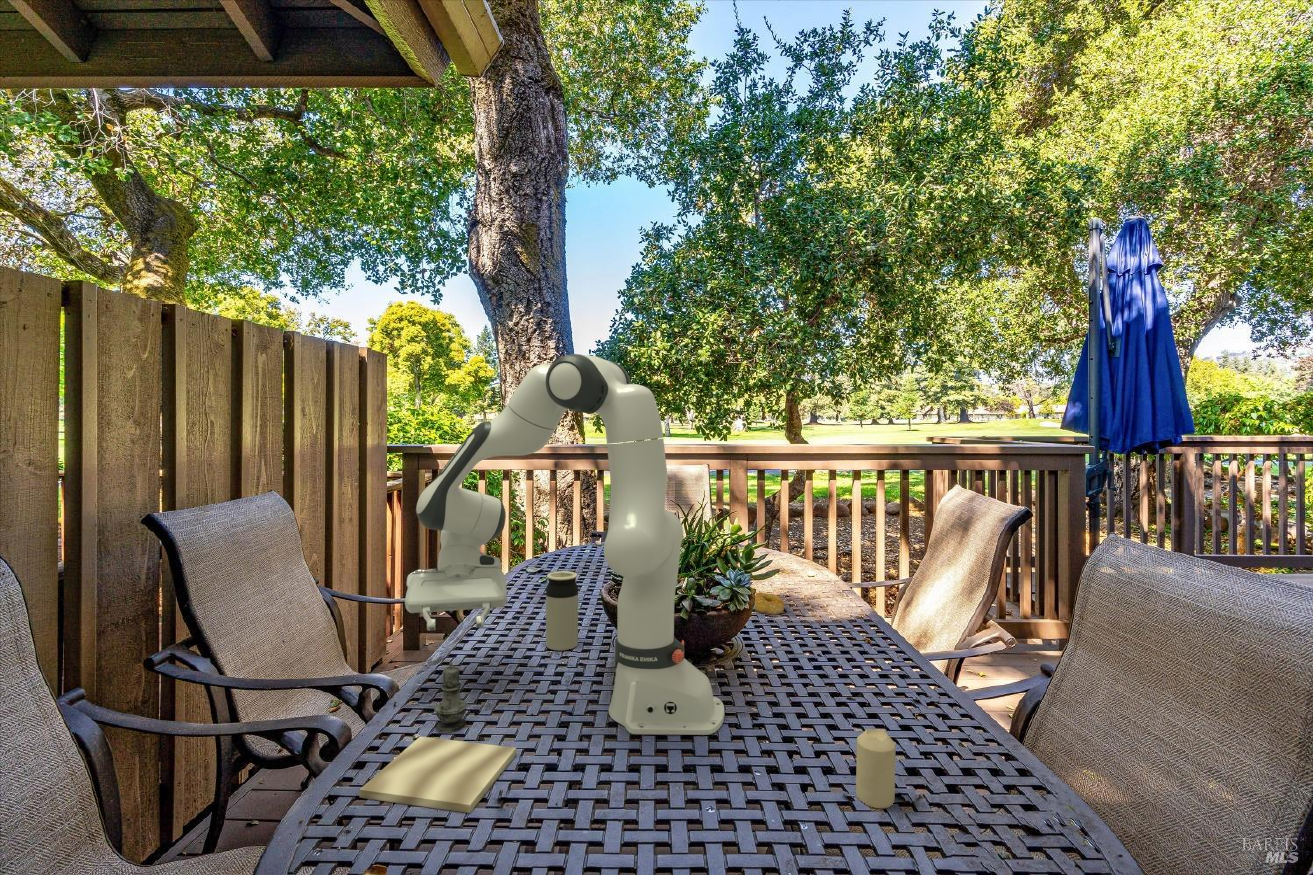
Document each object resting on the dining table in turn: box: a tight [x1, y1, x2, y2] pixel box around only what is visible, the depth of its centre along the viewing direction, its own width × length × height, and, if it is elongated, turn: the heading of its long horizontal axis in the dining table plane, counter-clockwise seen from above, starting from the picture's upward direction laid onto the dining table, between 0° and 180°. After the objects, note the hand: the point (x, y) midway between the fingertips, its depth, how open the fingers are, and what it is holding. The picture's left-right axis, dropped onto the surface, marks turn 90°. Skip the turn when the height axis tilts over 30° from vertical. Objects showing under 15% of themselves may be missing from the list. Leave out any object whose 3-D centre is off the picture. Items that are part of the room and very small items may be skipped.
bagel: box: [754, 592, 786, 616], centre depth 187 cm, size 10×11×5 cm
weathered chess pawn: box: [434, 661, 469, 734], centre depth 115 cm, size 6×6×12 cm
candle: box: [855, 728, 897, 809], centre depth 94 cm, size 6×6×10 cm
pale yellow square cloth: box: [358, 736, 517, 814], centre depth 99 cm, size 18×16×1 cm
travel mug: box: [545, 570, 579, 652], centre depth 156 cm, size 8×8×18 cm
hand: (455, 627), depth 125 cm, fingers open, 8 cm apart
